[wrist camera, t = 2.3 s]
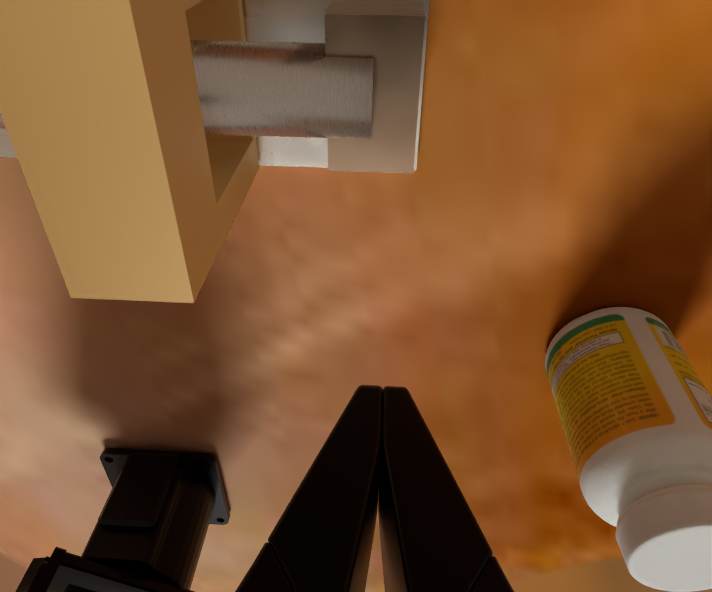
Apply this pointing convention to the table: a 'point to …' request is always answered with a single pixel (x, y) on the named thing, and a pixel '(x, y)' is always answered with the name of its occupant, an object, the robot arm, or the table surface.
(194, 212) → the tan wooden block
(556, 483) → the table surface
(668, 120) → the table surface
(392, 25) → the grey piece
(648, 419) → the supplement bottle
